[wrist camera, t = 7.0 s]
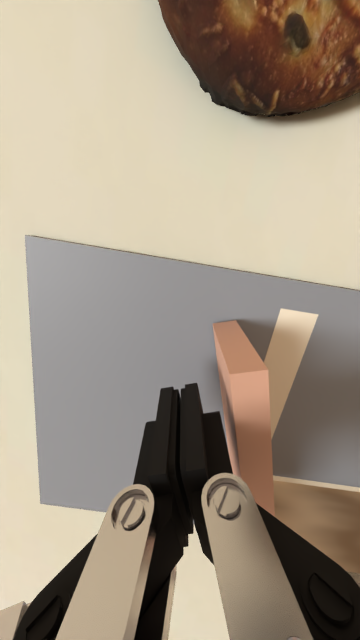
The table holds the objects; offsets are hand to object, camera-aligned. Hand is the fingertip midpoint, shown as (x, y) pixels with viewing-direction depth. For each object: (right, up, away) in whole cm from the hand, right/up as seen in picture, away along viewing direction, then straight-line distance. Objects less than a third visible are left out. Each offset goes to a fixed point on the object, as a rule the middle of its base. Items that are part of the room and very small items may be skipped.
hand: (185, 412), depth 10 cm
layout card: (+4, -3, +4) cm, 6 cm away
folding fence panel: (+3, -1, +3) cm, 4 cm away
